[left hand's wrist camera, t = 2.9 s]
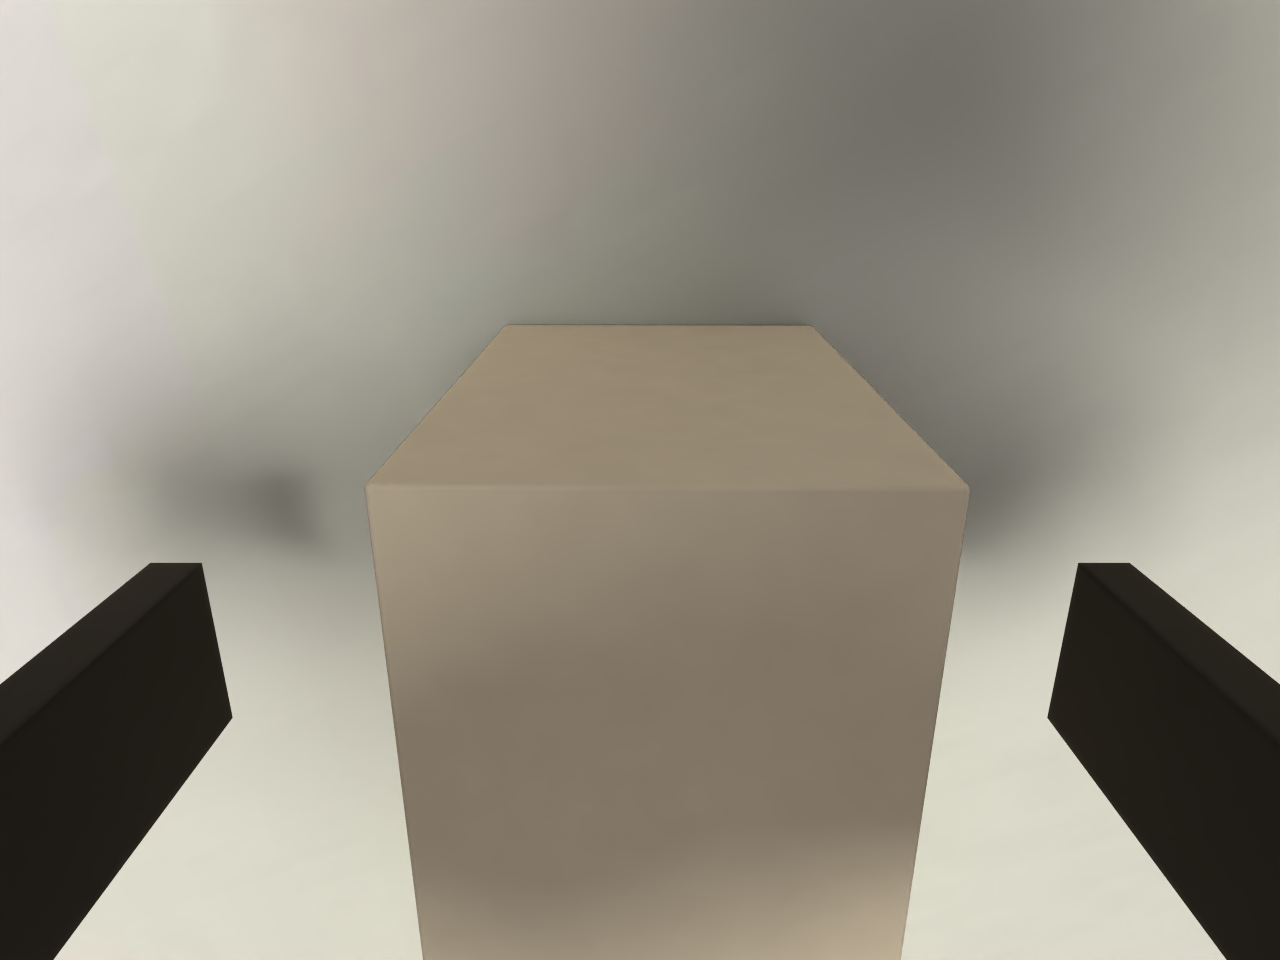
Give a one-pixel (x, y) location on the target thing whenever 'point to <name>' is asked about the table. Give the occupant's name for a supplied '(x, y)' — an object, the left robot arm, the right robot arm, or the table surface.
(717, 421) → the bar
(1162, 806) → the left robot arm
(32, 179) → the table surface
